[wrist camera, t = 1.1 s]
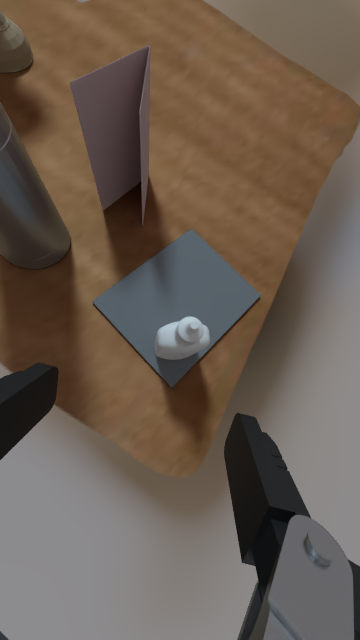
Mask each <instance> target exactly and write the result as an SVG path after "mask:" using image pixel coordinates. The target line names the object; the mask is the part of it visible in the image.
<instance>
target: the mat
mask: <svg viewBox="0 0 360 640" xmlns="http://www.w3.org/2000/svg"><path fill="white" fill-rule="evenodd" d="M260 296H261V295H260V294H259V293H258V292H257V291H256V290H255V289H254V288H253V287H252V286H251V285H250V284H249V283H248V282H247V281H246V280H245V279H243V278H242V277H241V276H240V275H239V274H238V273H237V272H236V271H235V270H234V269H233V268H232V267H231V266H230V265H229V264H228V263H227V262H226V261H225V260H224V259H223V258H222V257H221V256H220V255H218V254H217V253H216V252H215V251H214V250H213V249H212V248H211V247H210V246H209V245H208V244H207V243H206V242H205V241H204V240H203V239H202V238H201V237H200V236H199V235H198V234H197V233H196V232H195V231H193V230H192V229H190V230H189V231H187V232H186V233H185V234H183V235H182V236H181V237H179V238H178V239H176V240H175V241H174V242H172V243H171V244H170V245H168V246H167V247H165V248H164V249H163V250H161V251H160V252H159V253H157V254H156V255H155V256H153V257H152V258H150V259H149V260H148V261H146V262H145V263H144V264H142V265H141V266H140V267H138V268H137V269H135V270H134V271H133V272H131V273H130V274H129V275H127V276H126V277H125V278H123V279H122V280H120V281H119V282H118V283H116V284H115V285H114V286H112V287H111V288H109V289H108V290H107V291H105V292H104V293H103V294H101V295H100V296H99V297H97V298H96V299H94V300H93V301H92V302H93V303H94V304H95V305H96V306H97V308H98V309H99V310H100V311H101V312H102V313H103V314H104V315H105V316H106V317H107V318H108V319H109V321H110V322H111V323H112V324H113V325H114V326H115V327H116V328H117V329H118V330H119V331H120V333H121V334H122V335H123V336H124V337H125V338H126V339H127V340H128V341H129V342H130V343H131V344H132V346H133V347H134V348H135V349H136V350H137V351H138V352H139V353H140V354H141V355H142V356H143V357H144V359H145V360H146V361H147V362H148V363H149V364H150V365H151V366H152V367H153V368H154V369H155V370H156V372H157V373H158V374H159V375H160V376H161V377H162V378H163V379H164V380H165V381H166V382H167V383H168V385H169V386H170V387H171V388H172V387H173V386H174V385H175V384H176V383H177V382H178V381H179V380H180V379H181V378H182V377H183V376H184V375H185V374H186V373H187V372H188V370H189V369H190V368H191V367H192V366H193V365H194V364H195V363H196V362H197V361H198V360H199V359H200V358H201V357H202V356H203V355H204V354H205V353H206V352H207V351H208V350H209V349H210V348H211V347H212V346H213V345H214V344H215V342H216V341H217V340H218V339H219V338H220V337H221V336H222V335H223V334H224V333H225V332H226V331H227V330H228V329H229V328H230V327H231V326H232V325H233V324H234V323H235V322H236V321H237V320H238V319H239V318H240V317H241V316H242V314H243V313H244V312H245V311H246V310H247V309H248V308H249V307H250V306H251V305H252V304H253V303H254V302H255V301H256V300H257V299H258V298H259V297H260ZM190 316H191V317H195V318H197V319H198V320H199V321H200V322H201V323H202V324H203V325H205V326H207V327H208V329H209V334H210V343H209V345H208V346H207V347H205V348H204V349H202V350H200V351H199V352H197V353H195V354H193V355H191V356H189V357H187V358H184V359H179V360H168V359H163V358H160V357H158V356H156V354H155V340H156V335H157V332H158V330H159V329H160V328H161V327H163V326H165V325H167V324H170V323H173V322H177V321H181V320H182V319H183V318H185V317H190Z"/></svg>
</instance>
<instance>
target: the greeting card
mask: <svg viewBox="0 0 360 640" xmlns="http://www.w3.org/2000/svg"><path fill="white" fill-rule="evenodd" d="M70 85H71V89H72V93H73V97H74V101H75V105H76V109H77V112H78V116H79V120H80V124H81V128H82V132H83V136H84V140H85V143H86V147H87V151H88V155H89V159H90V163H91V167H92V171H93V174H94V178H95V182H96V186H97V190H98V194H99V198H100V202H101V205H102V209H103V211H104V210H105V209H106V208H108V207H109V206H110V205H111V204H113V203H114V202H115V201H116V200H118V199H119V198H120V197H122V196H123V195H124V194H125V193H127V192H128V191H129V190H130V189H132V188H133V187H134V186H136V185H137V184H138V183H139V182H141V192H142V227H143V220H144V212H145V203H146V195H147V186H148V177H149V101H150V45H148V46H146V47H144V48H142V49H139V50H137V51H135V52H133V53H131V54H129V55H127V56H125V57H122V58H120V59H118V60H116V61H114V62H112V63H110V64H108V65H106V66H103V67H101V68H99V69H97V70H95V71H93V72H91V73H89V74H86V75H84V76H82V77H80V78H78V79H76V80H74V81H72V82H70Z"/></svg>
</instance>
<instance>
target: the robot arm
mask: <svg viewBox="0 0 360 640" xmlns="http://www.w3.org/2000/svg"><path fill="white" fill-rule="evenodd" d="M69 246H70V235H69V232H68V230H67V228H66V226H65V224H64V222H63V220H62V218H61V216H60V214H59V212H58V210H57V208H56V206H55V205H54V203H53V201H52V199H51V197H50V195H49V193H48V191H47V189H46V187H45V185H44V184H43V182H42V180H41V178H40V176H39V174H38V172H37V170H36V168H35V166H34V164H33V163H32V161H31V159H30V157H29V155H28V153H27V151H26V149H25V147H24V145H23V143H22V142H21V140H20V138H19V136H18V134H17V132H16V130H15V128H14V126H13V124H12V122H11V120H10V119H9V117H8V115H7V113H6V111H5V109H4V108H3V106H2V104H1V102H0V254H1V255H2V256H3V257H4V258H5V259H7V260H8V261H9V262H11V263H12V264H13V265H16V266H18V267H21V268H25V269H41V268H45V267H49V266H51V265H53V264H55V263H57V262H58V261H59V260H61V259H62V258H63V257H64V256H65V254H66V253H67V251H68V249H69ZM57 381H58V368H57V367H54V366H50V365H46V364H42V363H36V364H35V365H33V366H31V367H30V368H28V369H26V370H25V371H23V372H22V371H19V372H16V373H13V374H10V375H7V376H4V377H3V378H1V379H0V460H1V459H2V458H3V457H4V456H5V455H6V454H7V453H8V452H9V451H10V450H11V449H12V448H13V447H14V446H15V445H16V444H17V443H18V442H19V441H20V440H21V439H22V438H23V437H24V436H25V435H26V434H27V433H28V432H29V431H30V430H31V429H32V428H33V427H34V426H35V425H36V424H37V423H38V422H39V421H40V420H41V419H42V418H43V417H44V416H45V415H46V414H47V413H48V412H49V411H50V410H51V408H52V407H53V405H54V402H55V399H56V392H57ZM224 448H225V449H224V457H225V462H226V469H227V475H228V481H229V487H230V493H231V499H232V505H233V511H234V517H235V523H236V529H237V534H238V541H239V547H240V553H241V559H242V563H245V564H249V565H253V566H256V571H257V576H258V581H257V583H256V585H255V588H254V591H253V594H252V597H251V600H250V603H249V606H248V609H247V612H246V615H245V618H244V621H243V624H242V627H241V630H240V633H239V636H238V639H237V640H360V566H358V565H356V564H354V563H353V562H351V561H350V560H348V559H347V557H346V555H345V553H344V552H343V550H342V548H341V547H340V545H339V544H338V543H337V541H336V540H335V539H334V538H333V536H332V535H331V534H330V533H329V532H328V531H327V530H326V529H325V528H324V527H323V526H321V525H320V524H319V523H317V522H316V521H314V520H313V519H311V517H310V515H309V513H308V510H307V509H306V506H305V504H304V502H303V500H302V498H301V496H300V494H299V492H298V490H297V487H296V485H295V483H294V481H293V479H292V477H291V475H290V473H289V471H287V466H286V464H285V462H284V460H282V456H281V454H280V452H279V449H278V447H277V445H276V444H275V443H274V441H273V440H272V439H271V438H270V437H269V435H268V434H267V433H264V432H262V431H261V429H260V427H259V424H258V422H257V419H256V418H255V417H252V416H248V415H244V414H240V413H237V414H236V415H235V417H234V419H233V422H232V425H231V428H230V431H229V433H228V436H227V439H226V442H225V447H224ZM0 640H8V639H7V638H6V637H5V636H4V635H3V634H2V633H1V632H0Z"/></svg>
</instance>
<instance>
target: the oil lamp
mask: <svg viewBox="0 0 360 640" xmlns="http://www.w3.org/2000/svg"><path fill="white" fill-rule="evenodd" d="M32 61H33V54H32V51H31V48H30V46H29V43H28V41H27V39H26V37H25V35H24V34H23V32H22V31H21V29H20V28H19V27H18V26H17V25H16V24H15V23H14V22H13V21H11V20H10V19H8V18H7V17H6V16H5V15H4V14H3V13H2V12H1V10H0V72H1V73H6V72H16V71H20V70H23V69H25V68H27V67H28V66H30V64H31V63H32Z"/></svg>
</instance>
